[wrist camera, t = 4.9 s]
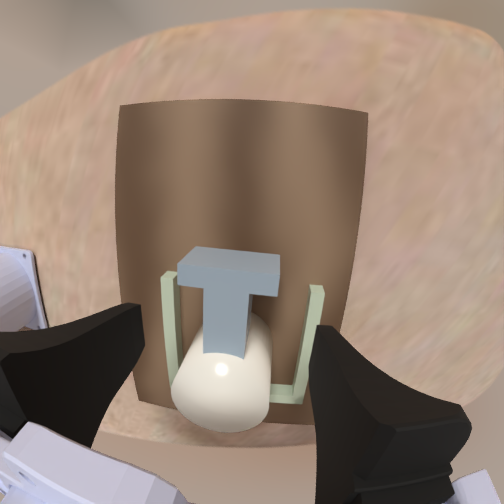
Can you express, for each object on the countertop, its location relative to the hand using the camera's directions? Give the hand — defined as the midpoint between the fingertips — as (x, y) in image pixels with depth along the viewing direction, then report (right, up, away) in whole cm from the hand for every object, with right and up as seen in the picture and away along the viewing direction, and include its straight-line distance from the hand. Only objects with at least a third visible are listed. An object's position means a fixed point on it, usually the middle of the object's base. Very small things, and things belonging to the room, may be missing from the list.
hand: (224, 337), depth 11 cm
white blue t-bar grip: (0, 0, +7) cm, 7 cm away
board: (0, +1, +8) cm, 8 cm away
